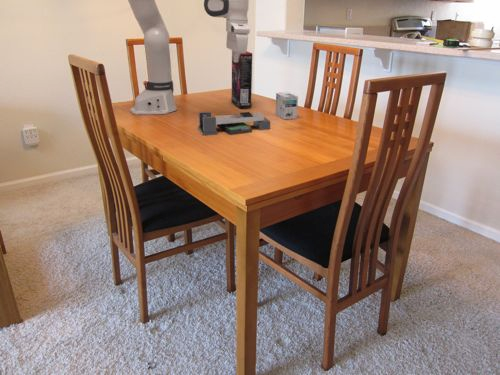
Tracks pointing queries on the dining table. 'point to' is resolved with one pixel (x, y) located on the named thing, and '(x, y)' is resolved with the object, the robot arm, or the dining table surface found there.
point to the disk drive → (235, 128)
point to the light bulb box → (286, 105)
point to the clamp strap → (239, 118)
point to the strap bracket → (209, 124)
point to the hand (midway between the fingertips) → (235, 61)
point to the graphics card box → (242, 80)
